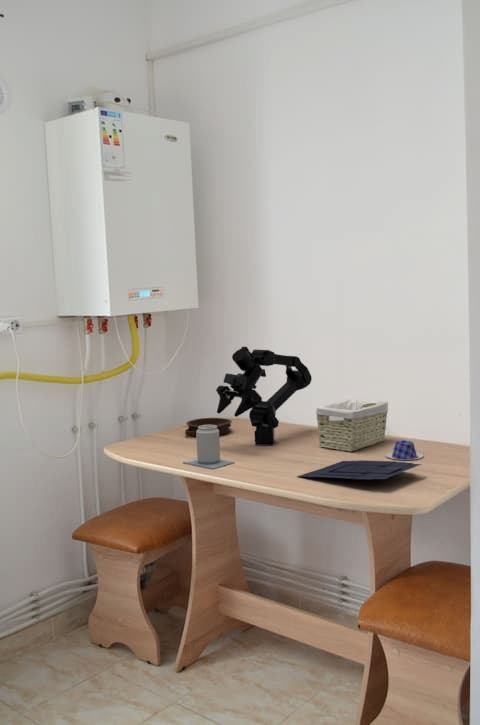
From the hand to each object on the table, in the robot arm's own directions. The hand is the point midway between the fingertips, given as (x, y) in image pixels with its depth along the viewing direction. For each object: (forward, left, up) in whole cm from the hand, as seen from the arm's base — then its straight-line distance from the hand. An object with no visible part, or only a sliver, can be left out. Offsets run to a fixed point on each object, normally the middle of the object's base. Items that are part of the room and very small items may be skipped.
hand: (226, 414), depth 263 cm
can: (+3, +14, -13) cm, 20 cm away
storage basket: (-42, -16, -14) cm, 47 cm away
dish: (+14, -32, -14) cm, 38 cm away
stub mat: (+3, +15, -13) cm, 20 cm away
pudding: (-60, +2, -14) cm, 61 cm away
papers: (-47, +27, -14) cm, 56 cm away
